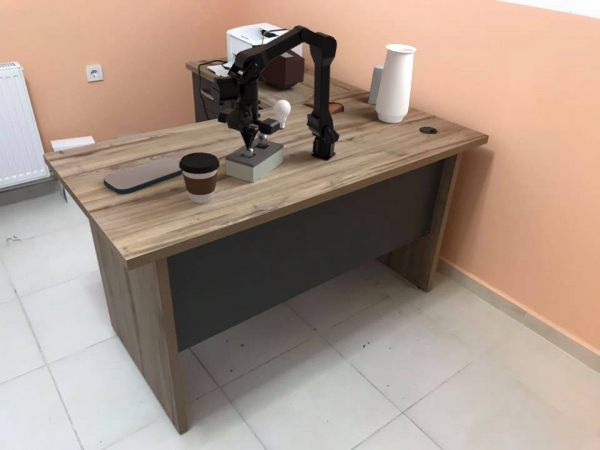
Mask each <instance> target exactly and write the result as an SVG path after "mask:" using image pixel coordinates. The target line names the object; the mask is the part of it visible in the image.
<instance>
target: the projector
mask: <svg viewBox="0 0 600 450" xmlns="http://www.w3.org/2000/svg"><path fill="white" fill-rule="evenodd" d="M290 30H291V29H290V28H279V29H271V30H266V31H264V32H263V35H262V41H261V43H260V44H255V45H251V48H254V47H260V46H263V45H264V44H265V43H264V39H265V35H266V34H267V33H275V32H282V31H283V32H285V31H290ZM305 61H306V60H305V57H302V55H299V54H298V53H296V52H295V51H293V50H292V49H291V50H289V51H287V52H286V53H284V54H282V55H280V56H279V57H277V58H275V59H273V60H272V61H270V62H269V63H268V65H267V66H266V68H265V69H264V70H263V71H261V72H260V75H261V76H262V77H263V78H264V79H265V81H264V83H266V86H269V85H270V84H271V85H273V86H275V87H277V88H280V91H283V89H287V88H288V89H289V90H291V88H294V87H295V86H296V85H298V84H299V83H303V82H304V80H305V78H304V77H305Z"/></svg>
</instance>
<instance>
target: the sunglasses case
mask: <svg viewBox="0 0 600 450" xmlns="http://www.w3.org/2000/svg"><path fill="white" fill-rule="evenodd" d="M302 105H303V106H306V107H310V108H312V109H314V94H313V95H311V96H310V97H309V98H308V99H307V100H305V101H304V102H303V103H302ZM329 111H330V114H331V116H333V115H334V116H335V115H337V114H340V113H344V112H345V107H344V105H343V104H342V103H340V102H337V101H333V100H332V99H329Z"/></svg>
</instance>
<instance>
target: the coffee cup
mask: <svg viewBox="0 0 600 450" xmlns="http://www.w3.org/2000/svg"><path fill="white" fill-rule="evenodd" d="M220 166H221V165H220V160H219V159H218V157H217V156H216V155H214V154H212V153H208V152H202V151H201V152H191V153H187V154H186V155H183V156H182V157H181V158H180V161H179V168H180V169H181V170H182V171H183V174H182V176H183V181H184V184H185V188H186V191H187V192H188V198H189V199H190V201H191V202H192V203H195V204H197V205H198V204H199V205H200V204H201V205H202V204H204V205H205V204H206V203H207V204H209V203H210V202H212V200H213V198H214V197H215V196H214V195H215V190H216V186H217V185H216V184H217V177H218V169H219V168H220Z"/></svg>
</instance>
